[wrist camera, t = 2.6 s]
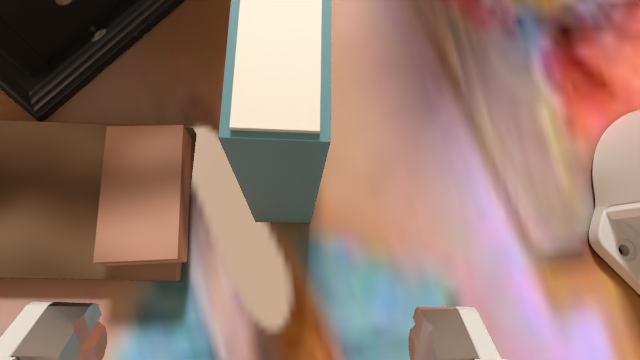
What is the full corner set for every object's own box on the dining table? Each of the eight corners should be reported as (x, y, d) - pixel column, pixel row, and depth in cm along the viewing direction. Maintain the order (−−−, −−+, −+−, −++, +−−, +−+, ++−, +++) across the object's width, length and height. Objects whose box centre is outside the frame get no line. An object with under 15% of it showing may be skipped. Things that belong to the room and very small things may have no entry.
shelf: (189, 281, 28) (135, 270, 18) (-64, 276, 27) (-263, 263, 17) (204, 134, 31) (165, 59, 22) (-22, 125, 30) (-170, 42, 21)
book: (309, 223, 30) (330, 138, 14) (255, 221, 30) (217, 134, 14) (312, 90, 33) (332, -97, 18) (263, 87, 33) (239, -104, 17)
